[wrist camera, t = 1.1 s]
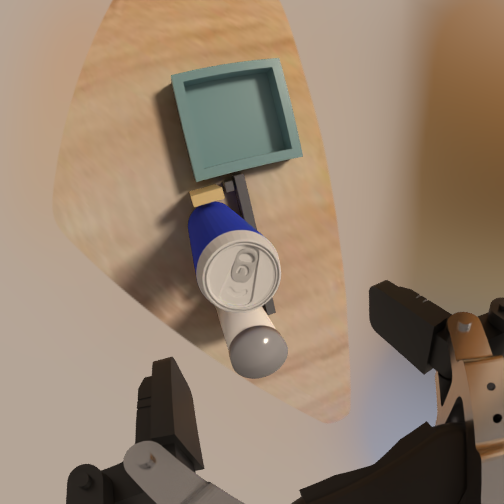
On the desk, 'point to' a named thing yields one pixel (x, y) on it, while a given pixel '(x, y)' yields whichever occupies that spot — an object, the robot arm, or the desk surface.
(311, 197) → the desk surface
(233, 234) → the beverage can
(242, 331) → the fuse
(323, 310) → the desk surface
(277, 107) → the tray
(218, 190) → the fuse block
